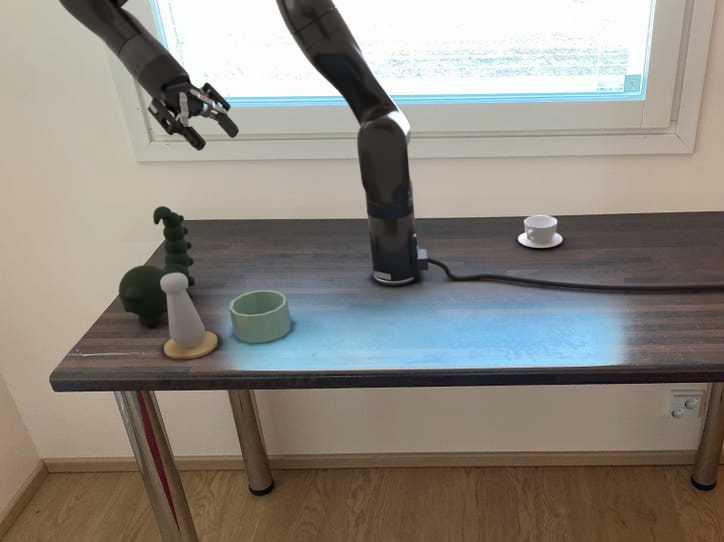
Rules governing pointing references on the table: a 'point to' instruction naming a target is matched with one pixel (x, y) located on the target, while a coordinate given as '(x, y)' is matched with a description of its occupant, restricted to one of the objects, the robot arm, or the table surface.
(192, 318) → the salt shaker
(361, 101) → the robot arm
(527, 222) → the teacup
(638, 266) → the table surface
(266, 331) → the cup
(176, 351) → the coaster
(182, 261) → the toy figurine
